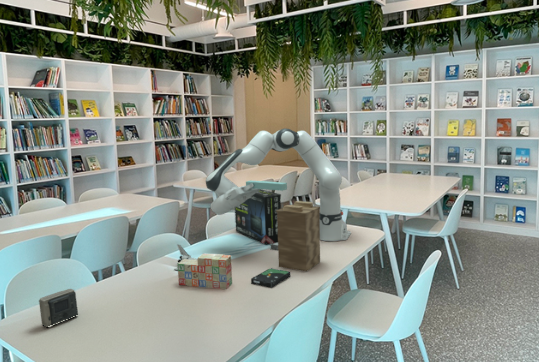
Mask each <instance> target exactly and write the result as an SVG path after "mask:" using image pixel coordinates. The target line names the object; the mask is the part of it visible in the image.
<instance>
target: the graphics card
mask: <svg viewBox="0 0 539 362" xmlns="http://www.w3.org/2000/svg"><path fill="white" fill-rule="evenodd" d="M269 245H270V247H269V249H270V251H271V250H272V251H273V250H274V251H278V243H273V244H269Z"/></svg>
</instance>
